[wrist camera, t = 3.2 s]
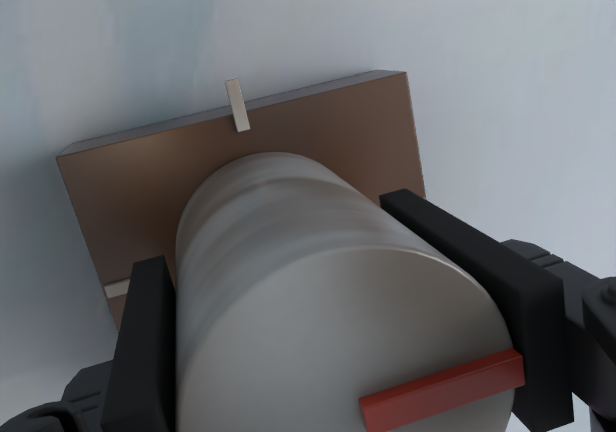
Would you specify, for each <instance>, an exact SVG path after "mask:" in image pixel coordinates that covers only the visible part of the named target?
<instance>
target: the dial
mask: <svg viewBox="0 0 616 432" xmlns="http://www.w3.org/2000/svg"><path fill="white" fill-rule="evenodd" d="M523 385H525V375H524V366H523V357H522V355H521V354H519V353H518V352H517V351H516V350H515V349H514V348H513V344H512V340H511V337H510V334H509V331H508V328H507V325H506V322H505V320H504V318H503V316H502V314H501V313H500V311H499V309H498V307H497V305H496V303H495V302H494V301H493V299H492V298H491V297H490V295H489V294H488V293H487V291H486V290H485V289H484V288H483V287H482V286H481V285H480V284H479V283H478V282H477V281H476V280H475V279H474V278H473V277H472V276H471V275H470V274H468V273H467V272H466V271H464V270H463V269H462V268H460V267H459V266H458V265H456V264H455V263H454V262H452V261H451V260H450V259H448V258H447V257H446V256H444V255H443V254H442V253H440V252H439V251H438V250H436V249H435V248H433V247H432V246H431V245H429V244H428V243H427V242H425V241H424V240H423V239H421V238H420V237H419V236H417V235H416V234H415V233H413V232H412V231H411V230H409V229H408V228H407V227H405V226H404V225H403V224H401V223H400V222H399V221H397V220H396V219H395V218H393V217H392V216H391V215H389V214H388V213H387V212H385V211H384V210H383V209H381V208H380V207H379V206H377V205H376V204H375V203H373V202H372V201H371V200H369V199H368V198H367V197H365V196H364V195H363V194H361V193H360V192H359V191H357V190H356V189H355V188H353V187H352V186H351V185H349V184H348V183H347V182H345V181H344V180H343V179H341V178H340V177H339V176H337V175H336V174H335V173H333V172H332V171H330V170H329V169H328V168H326V167H325V166H323V165H322V164H320V163H318V162H316V161H314V160H312V159H309V158H306V157H304V156H301V155H296V154H292V153H284V152H264V153H258V154H252V155H248V156H245V157H242V158H239V159H237V160H234V161H232V162H230V163H228V164H226V165H224V166H223V167H221V168H220V169H218V170H217V171H215V172H214V173H213V174H212V175H210V176H209V177H208V178H207V179H206V180H204V182H203V183H202V184H201V185H200V186H199V187H198V188H197V189H196V191H195V192H194V193H193V195H192V196H191V198H190V199H189V201H188V203H187V205H186V207H185V209H184V211H183V213H182V216H181V219H180V222H179V225H178V230H177V235H176V270H175V432H505V430H506V427H507V424H508V422H509V419H510V416H511V411H512V407H513V402H514V397H515V388H517V387H520V386H523Z"/></svg>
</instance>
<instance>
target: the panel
mask: <svg viewBox="0 0 616 432" xmlns="http://www.w3.org/2000/svg"><path fill="white" fill-rule="evenodd" d="M225 85H226V89H227V93H228V97H229V101H230V105H229V106H225V107H221V108H217V109H213V110H209V111H205V112H200V113H196V114H192V115H188V116H184V117H180V118H175V119H171V120H167V121H163V122H159V123H155V124H151V125H146V126H142V127H138V128H134V129H130V130H126V131H121V132H117V133H113V134H109V135H105V136H101V137H97V138H92V139H88V140H84V141H80V142H76V143H72V144H71V145H70V146H69V147H67V148H66V149H65V150H64V151H63V152H62V153H60V154H59V155H58V156H57V157H56V161H57V163H58V166H59V169H60V172H61V175H62V177H63V180H64V183H65V186H66V189H67V191H68V194H69V197H70V200H71V202H72V205H73V208H74V211H75V214H76V216H77V219H78V222H79V225H80V228H81V230H82V233H83V236H84V239H85V241H86V244H87V247H88V250H89V253H90V255H91V258H92V261H93V264H94V267H95V269H96V272H97V275H98V278H99V280H100V283H101V286H102V289H103V292H104V294H105V297H106V300H107V303H108V305H109V308H110V311H111V314H112V317H113V319H114V322H115V325H116V328H117V331H118V333H119V330H120V325H121V320H122V315H123V311H124V306H125V301H126V296H127V291H128V286H129V282H130V277H131V272H132V267H133V263H135V262H138V261H142V260H146V259H149V258H153V257H156V256H160V255H164V257H165V260H166V263H167V266H168V269H169V272H170V276H171V279H172V282H173V285H174V288H175V270H176V235H177V230H178V225H179V222H180V219H181V216H182V213H183V211H184V209H185V207H186V205H187V203H188V201H189V199H190V198H191V196H192V195H193V193H194V192H195V191H196V189H197V188H198V187H199V186H200V185H201V184H202V183H203V182H204V180H206V179H207V178H208V177H209V176H210V175H212V174H213V173H214V172H215V171H217V170H218V169H220V168H221V167H223V166H224V165H226V164H228V163H230V162H232V161H234V160H237V159H239V158H242V157H245V156H248V155H252V154H258V153H264V152H284V153H292V154H296V155H301V156H304V157H306V158H309V159H312V160H314V161H316V162H318V163H320V164H322V165H323V166H325V167H326V168H328V169H329V170H330V171H332V172H333V173H335V174H336V175H337V176H339V177H340V178H341V179H343V180H344V181H345V182H347V183H348V184H349V185H351V186H352V187H353V188H355V189H356V190H357V191H359V192H360V193H361V194H363V195H364V196H365V197H367V198H368V199H369V200H371V201H372V202H373V203H375V204H376V205H377V206H379V207H380V208H381V206H380V200H379V195H382V194H386V193H389V192H393V191H396V190H400V189H404V188H406V189H408V190H410V191H411V192H413V193H415V194H417V195H418V196H420V197H422V198H423V199H425V200H426V194H425V187H424V181H423V175H422V168H421V162H420V155H419V149H418V142H417V136H416V129H415V123H414V116H413V110H412V103H411V97H410V90H409V84H408V77H407V73H406V72H401V71H387V70H375V71H371V72H366V73H362V74H358V75H354V76H350V77H346V78H341V79H337V80H333V81H329V82H325V83H321V84H317V85H312V86H308V87H304V88H300V89H296V90H292V91H288V92H283V93H279V94H275V95H271V96H267V97H263V98H258V99H254V100H250V101H246V102H244V101H243V97H242V93H241V89H240V85H239V81H238V79H237V78H236V79H232V80H228V81H225Z"/></svg>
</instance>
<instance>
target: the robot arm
mask: <svg viewBox="0 0 616 432" xmlns="http://www.w3.org/2000/svg"><path fill="white" fill-rule="evenodd" d="M379 200H380V206H381V209H383V210H384V211H385V212H387V213H388V214H389V215H391V216H392V217H393V218H395V219H396V220H397V221H399V222H400V223H401V224H403V225H404V226H405V227H407V228H408V229H409V230H411V231H412V232H413V233H415V234H416V235H417V236H419V237H420V238H421V239H423V240H424V241H425V242H427V243H428V244H429V245H431V246H432V247H433V248H435V249H436V250H438V251H439V252H440V253H442V254H443V255H444V256H446V257H447V258H448V259H450V260H451V261H452V262H454V263H455V264H456V265H458V266H459V267H460V268H462V269H463V270H464V271H466V272H467V273H468V274H470V275H471V276H472V277H473V278H474V279H475V280H476V281H477V282H478V283H479V284H480V285H481V286H482V287H483V288H484V289H485V290H486V291H487V293H488V294H489V295H490V297H491V298H492V299H493V301H494V302H495V303H496V305H497V307H498V309H499V311H500V313H501V314H502V316H503V318H504V320H505V322H506V325H507V328H508V331H509V334H510V337H511V340H512V344H513V348H514V349H515V350H516V351H517V352H518V353H519V354H521V355H522V357H523V366H524V375H525V385H523V386H520V387H517V388H515V397H514V402H513V407H512V412H513V413H514V414H515V415H516V417H517V418H518V419H519V420H520V421H521V422H522V423H523V424H524V425H525V426H526V427H527V428H528V429H529V430H530V431H531V432H547V431H549V430H552V429H555V428H558V427H561V426H564V425H566V424H569V423H572V422H574V412H573V400H572V392H573V393H574V394H575V395H576V396H578V397H579V398H580V399H581V400H582V401H583V402H585V403H586V404H587V405H588V406H589V411H590V426H591V432H616V277H607V278H604V279H599V278H598V277H596V276H594V275H592V274H590V273H588V272H586V271H584V270H582V269H580V268H579V267H577V266H575V265H573V264H571V263H569V262H567V261H565V262H564V261H563V259H562V258H560V257H558V256H556V255H554V254H552V255H551V254H550V252H548V251H546V250H544V249H543V248H541V247H539V246H537V245H535V244H532V243H527V242H523V241H518V240H513V239H511V240H507V241H504V242H501V243H499V242H498V241H496V240H494V239H492V238H491V237H489V236H487V235H485V234H484V233H482V232H480V231H479V230H477V229H475V228H473V227H472V226H470V225H468V224H467V223H465V222H463V221H461V220H460V219H458V218H456V217H454V216H453V215H451V214H449V213H448V212H446V211H444V210H442V209H441V208H439V207H437V206H435V205H434V204H432V203H430V202H429V201H427V200H425V199H423V198H422V197H420V196H418V195H417V194H415V193H413V192H411V191H410V190H408V189H406V188H404V189H400V190H396V191H393V192H389V193H386V194H382V195H379ZM0 432H175V288H174V285H173V282H172V279H171V276H170V272H169V269H168V266H167V263H166V260H165V257H164V255H160V256H156V257H153V258H149V259H146V260H142V261H138V262H135V263H133V267H132V272H131V277H130V282H129V286H128V291H127V296H126V301H125V306H124V311H123V315H122V320H121V325H120V330H119V335H118V340H117V344H116V349H115V354H114V359H113V360H111V361H107V362H104V363H101V364H97V365H94V366H91V367H87V368H84V369H81V370H80V371H79V372H78V373H77V375H76V376H75V377H74V378H73V379H72V380H71V381H70V383H69V384H68V385H67V386H66V387H65V390H64V393H63V396H62V399H61V401H58V402H51V403H46V404H43V405H40V406H37V407H34V408H31V409H28V410H26V411H25V412H23V413H21V414H19V415H17V416H15V417H13V418H11V419H10V420H8V421H7V422H6V423H4V424H3V425H2V426H0Z"/></svg>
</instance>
